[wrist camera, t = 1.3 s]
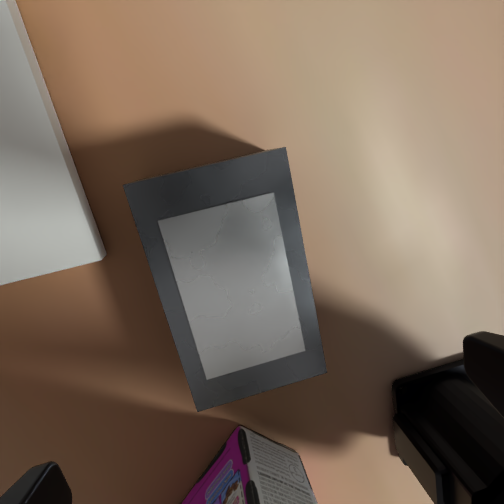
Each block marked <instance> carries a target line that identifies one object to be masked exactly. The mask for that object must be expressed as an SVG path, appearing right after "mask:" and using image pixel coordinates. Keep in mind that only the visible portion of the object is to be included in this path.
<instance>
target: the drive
mask: <svg viewBox="0 0 504 504" xmlns="http://www.w3.org/2000/svg"><path fill="white" fill-rule="evenodd" d="M123 187H124V191H125V194H126V197H127V200H128V203H129V206H130V209H131V212H132V215H133V218H134V221H135V224H136V227H137V230H138V233H139V236H140V239H141V242H142V245H143V248H144V251H145V254H146V257H147V260H148V263H149V266H150V269H151V272H152V275H153V278H154V281H155V284H156V287H157V290H158V294H159V297H160V300H161V303H162V306H163V309H164V312H165V315H166V318H167V321H168V324H169V327H170V330H171V333H172V336H173V339H174V342H175V345H176V348H177V351H178V354H179V357H180V360H181V363H182V366H183V369H184V372H185V375H186V378H187V381H188V384H189V387H190V390H191V393H192V397H193V400H194V403H195V406H196V409H197V412H199V411H203V410H206V409H209V408H213V407H216V406H219V405H222V404H226V403H229V402H232V401H236V400H239V399H242V398H245V397H249V396H252V395H255V394H259V393H262V392H265V391H268V390H272V389H275V388H278V387H282V386H285V385H288V384H291V383H295V382H298V381H301V380H305V379H308V378H311V377H315V376H318V375H321V374H324V373H327V369H326V364H325V358H324V353H323V348H322V342H321V337H320V331H319V326H318V320H317V315H316V309H315V304H314V298H313V293H312V288H311V282H310V277H309V271H308V266H307V260H306V255H305V249H304V244H303V238H302V233H301V228H300V222H299V217H298V211H297V206H296V200H295V195H294V189H293V184H292V178H291V173H290V168H289V162H288V157H287V151H286V147H283V148H277V149H271V150H265V151H261V152H257V153H252V154H248V155H244V156H239V157H235V158H231V159H227V160H222V161H218V162H214V163H209V164H205V165H201V166H197V167H192V168H188V169H184V170H179V171H175V172H171V173H166V174H162V175H158V176H154V177H149V178H145V179H141V180H137V181H134V182H131V183H128V184H125V185H123Z"/></svg>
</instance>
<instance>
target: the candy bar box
mask: <svg viewBox="0 0 504 504" xmlns="http://www.w3.org/2000/svg"><path fill="white" fill-rule="evenodd" d="M181 504H317V501H316V498H315V495H314V493H313V490H312V488H311V485H310V482H309V480H308V477H307V474H306V471H305V469H304V466H303V463H302V461H301V458H300V456H299V454H298V453H297V452H296V451H294V450H292V449H290V448H288V447H287V446H285V445H283V444H280V443H277V442H274V441H272V440H269V439H267V438H265V437H264V436H262V435H260V434H258V433H256V432H254V431H252V430H249V429H247V428H245V427H243V426H238V427H237V428H236V429H235V430H234V432H233V433H232V435H231V436H230V437H229V439H228V440H227V441H226V443H225V444H224V445H223V447H222V448H221V450H220V451H219V452H218V454H217V455H216V456H215V458H214V459H213V461H212V462H211V464H210V465H209V466H208V468H207V469H206V470H205V472H204V473H203V474H202V476H201V477H200V478H199V480H198V481H197V483H196V484H195V486H194V487H193V488H192V490H191V491H190V492H189V494H188V495H187V497H186V498H185V499H184V501H183V502H182V503H181Z"/></svg>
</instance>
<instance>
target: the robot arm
mask: <svg viewBox="0 0 504 504" xmlns="http://www.w3.org/2000/svg"><path fill="white" fill-rule="evenodd" d="M463 356H464V359H463V360H460V361H456V362H453V363H450V364H447V365H443V366H440V367H437V368H434V369H430V370H427V371H424V372H421V373H417V374H414V375H411V376H408V377H404V378H401V379H398V380H396V381H395V382H394V383H393V384H392V396H393V405H394V415H393V419H392V420H393V428H394V437H395V446H396V449H397V451H398V452H399V457H400V459H401V461H402V462H403V464H404V465H406V466H409V468H410V469H411V471H412V472H413V474H414V475H415V477H416V478H417V479H418V481H419V482H420V484H421V485H422V487H423V488H424V489H425V491H426V492H427V494H428V495H429V497H430V498H431V499H432V501H433V502H434V504H504V336H503V335H498V334H494V333H489V332H484V331H481V332H477V333H473V334H470V335H467V336H466V337H465V338H464V340H463ZM401 387H402V388H401ZM400 388H401V389H400ZM0 504H72V493H71V489H70V487H69V485H68V483H67V481H66V479H65V477H64V475H63V473H62V471H61V469H60V467H59V466H58V464H57V463H56V462H52V461H51V462H47V463H44V464H40V465H37V466H34V467H32V468H31V469H29V470H28V471H27V472H26V473H25V474H24V475H23V476H22V477H21V478H20V479H19V480H18V481H17V482H16V483H15V484H14V485H13V486H12V487H11V488H9V489H8V490H7V491H6V492H5V493H4V494H3V495H2V496H1V497H0Z"/></svg>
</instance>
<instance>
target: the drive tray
mask: <svg viewBox="0 0 504 504" xmlns="http://www.w3.org/2000/svg"><path fill="white" fill-rule="evenodd" d="M106 255H107V253H106V250H105V248H104V245H103V242H102V239H101V236H100V234H99V231H98V228H97V225H96V223H95V220H94V217H93V214H92V211H91V209H90V206H89V203H88V200H87V198H86V195H85V192H84V189H83V187H82V184H81V181H80V178H79V175H78V173H77V170H76V167H75V164H74V162H73V159H72V156H71V153H70V150H69V148H68V145H67V142H66V139H65V137H64V134H63V131H62V128H61V126H60V123H59V120H58V117H57V114H56V112H55V109H54V106H53V103H52V101H51V98H50V95H49V92H48V89H47V87H46V84H45V81H44V78H43V76H42V73H41V70H40V67H39V65H38V62H37V59H36V56H35V53H34V51H33V48H32V45H31V42H30V40H29V37H28V34H27V31H26V28H25V26H24V23H23V20H22V17H21V15H20V12H19V9H18V6H17V4H16V1H15V0H0V285H4V284H8V283H12V282H16V281H20V280H24V279H28V278H32V277H36V276H40V275H44V274H48V273H52V272H56V271H60V270H64V269H68V268H72V267H76V266H80V265H84V264H88V263H92V262H96V261H100V260H102V259H103V258H104V257H105V256H106Z"/></svg>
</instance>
